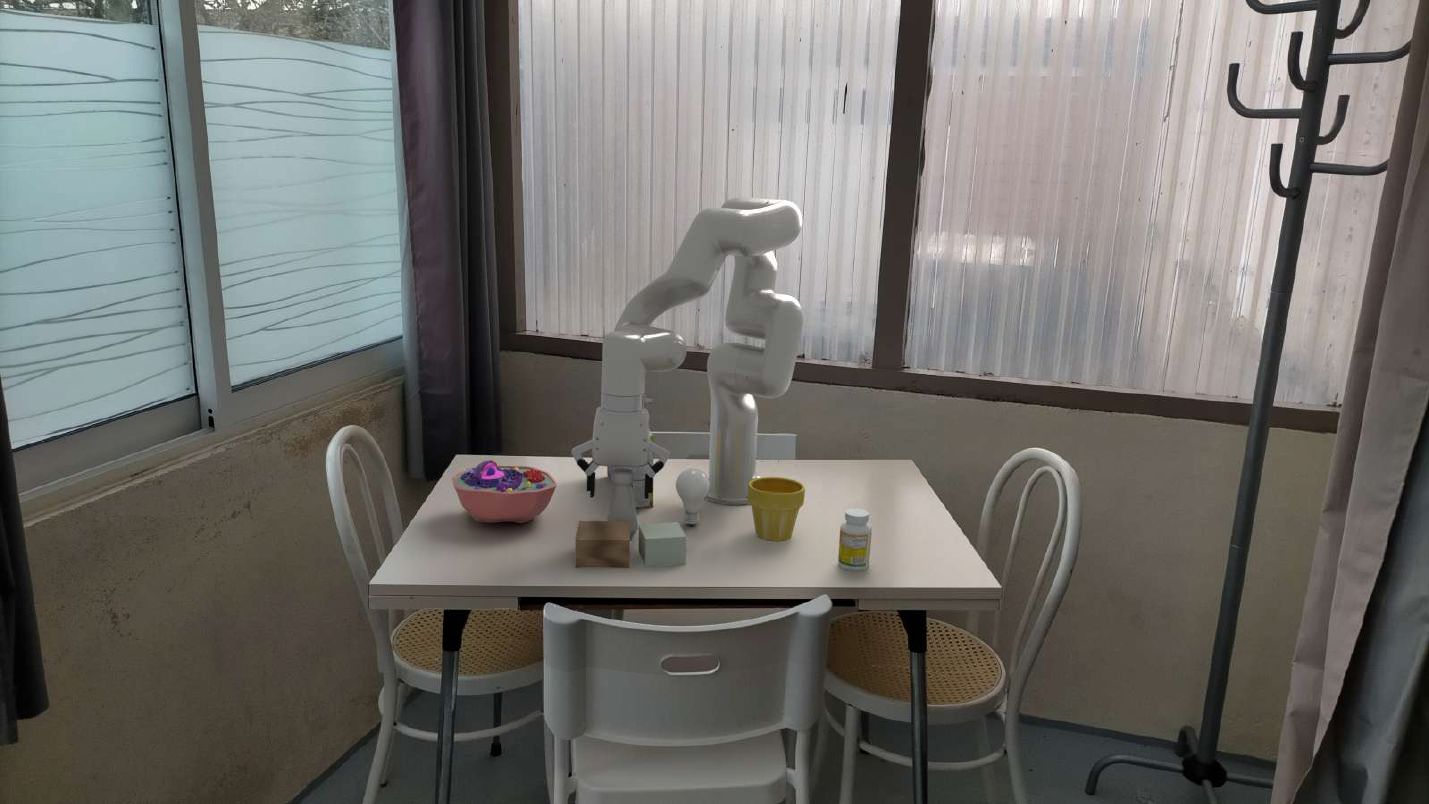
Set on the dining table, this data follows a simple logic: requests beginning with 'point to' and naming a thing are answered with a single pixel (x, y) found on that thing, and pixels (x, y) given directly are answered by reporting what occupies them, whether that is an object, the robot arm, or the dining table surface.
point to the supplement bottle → (855, 540)
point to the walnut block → (603, 544)
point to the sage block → (662, 544)
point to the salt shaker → (623, 499)
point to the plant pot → (775, 506)
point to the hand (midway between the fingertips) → (619, 495)
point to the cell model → (504, 492)
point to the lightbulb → (692, 492)
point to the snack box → (638, 483)
